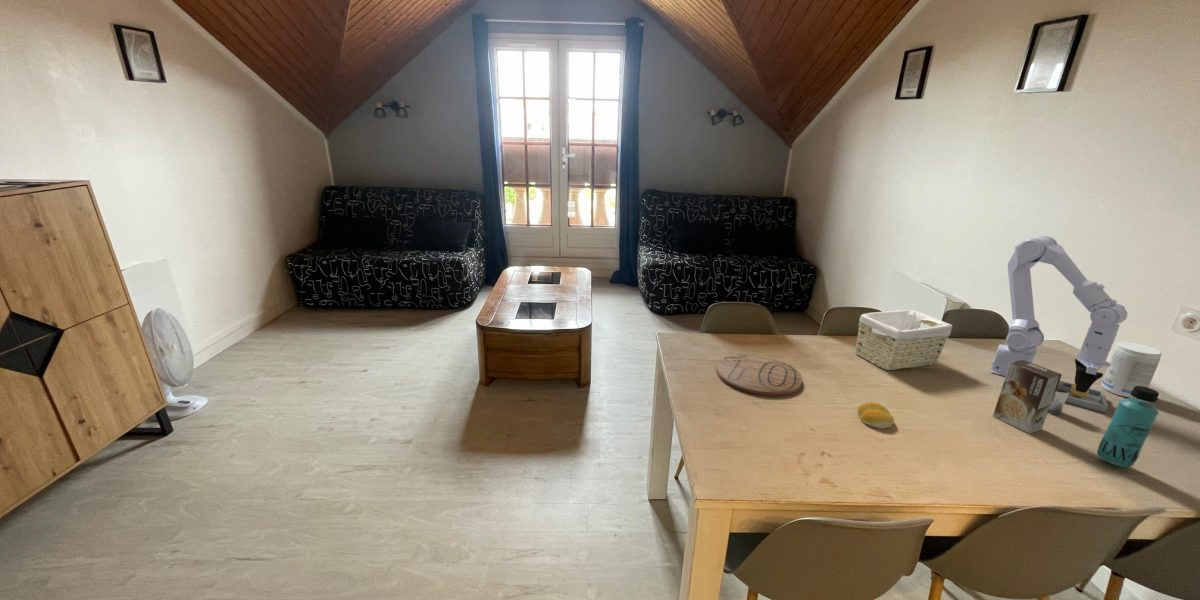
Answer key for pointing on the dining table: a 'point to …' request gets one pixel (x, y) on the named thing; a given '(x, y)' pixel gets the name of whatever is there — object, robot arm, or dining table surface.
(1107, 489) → the dining table surface
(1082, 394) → the ball
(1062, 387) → the shaker cup
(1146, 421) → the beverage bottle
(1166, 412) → the dining table surface
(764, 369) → the trivet
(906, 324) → the storage basket
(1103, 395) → the dish
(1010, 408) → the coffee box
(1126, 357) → the supplement tub
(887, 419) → the bread roll
